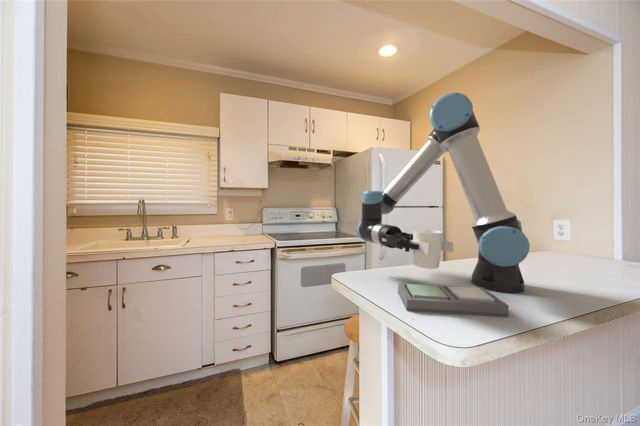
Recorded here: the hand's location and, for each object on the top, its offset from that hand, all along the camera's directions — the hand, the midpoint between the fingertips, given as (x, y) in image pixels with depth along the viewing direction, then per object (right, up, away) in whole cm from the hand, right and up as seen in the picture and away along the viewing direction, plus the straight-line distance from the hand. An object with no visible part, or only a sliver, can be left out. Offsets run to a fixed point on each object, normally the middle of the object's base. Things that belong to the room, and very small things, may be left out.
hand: (441, 248), depth 69 cm
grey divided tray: (+4, -16, +5) cm, 17 cm away
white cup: (-2, -6, +5) cm, 8 cm away
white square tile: (+10, -14, +4) cm, 17 cm away
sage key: (-2, -14, +5) cm, 15 cm away
